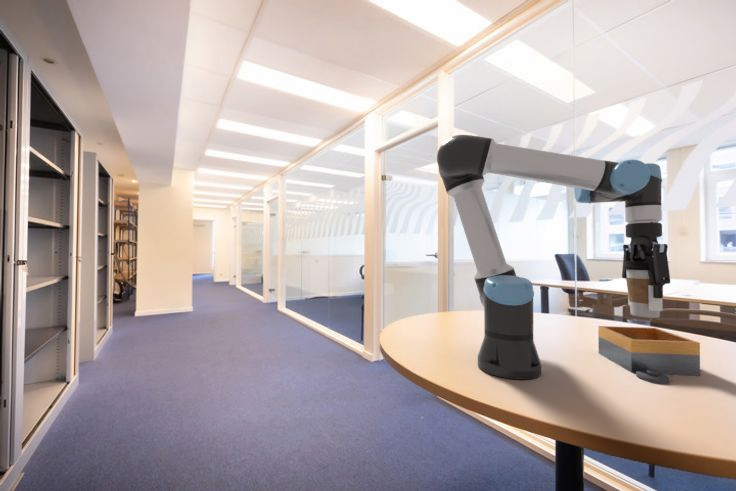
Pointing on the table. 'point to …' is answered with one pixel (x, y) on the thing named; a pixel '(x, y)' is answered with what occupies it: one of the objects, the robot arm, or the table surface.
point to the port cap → (652, 376)
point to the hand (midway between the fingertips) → (644, 307)
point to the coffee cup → (639, 289)
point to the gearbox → (649, 350)
